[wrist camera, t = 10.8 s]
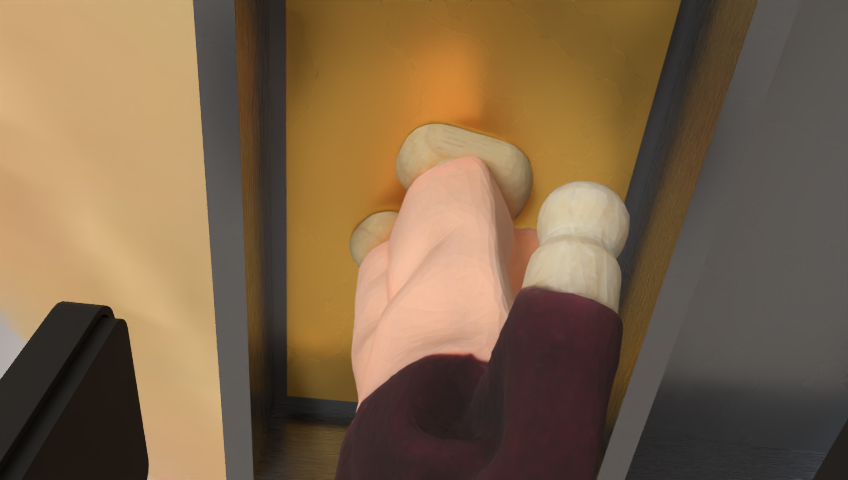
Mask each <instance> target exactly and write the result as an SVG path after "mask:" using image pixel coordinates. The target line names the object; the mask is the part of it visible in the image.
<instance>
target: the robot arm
mask: <svg viewBox="0 0 848 480" xmlns="http://www.w3.org/2000/svg"><path fill="white" fill-rule="evenodd" d="M148 468H149V462H148V454H147V448H146V442H145V435H144V429H143V422H142V416H141V410H140V403H139V397H138V390H137V384H136V378H135V371H134V365H133V358H132V352H131V346H130V339H129V333H128V327H127V323H126V322H125V320H123V319H116V318H115V317H114V314H113V311H112V309H111V308H110V307H108V306H104V305H94V304H84V303H74V302H64V301H62V302H60V303H57V304H56V306H55V307H54V308H53V309H52V310H51V311H50V313H49V314H48V315H47V317H46V318H45V319H44V321H43V322H42V324H41V325H40V326H39V328H38V329H37V330H36V332H35V333H34V334H33V336H32V337H31V339H30V340H29V341H28V343H27V344H26V345H25V347H24V348H23V349H22V351H21V352H20V354H19V355H18V356H17V358H16V359H15V360H14V362H13V363H12V364H11V366H10V367H9V369H8V370H7V371H6V373H5V374H4V375H3V377H2V378H1V379H0V480H147V476H148ZM812 480H848V419H847V421H846V423H845V424H844V426H843V428H842V430H841V431H840V433H839V435H838V436H837V438H836V440H835V442H834V443H833V445H832V447H831V448H830V450H829V452H828V454H827V455H826V457H825V459H824V461H823V462H822V464H821V466H820V467H819V469H818V471H817V473H816V474H815V476H814V478H813V479H812Z"/></svg>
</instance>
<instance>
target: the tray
mask: <svg viewBox="0 0 848 480" xmlns="http://www.w3.org/2000/svg"><path fill="white" fill-rule="evenodd" d="M193 6H194V21H195V35H196V49H197V63H198V78H199V92H200V106H201V121H202V135H203V149H204V164H205V178H206V192H207V207H208V221H209V235H210V249H211V264H212V278H213V292H214V307H215V321H216V335H217V350H218V364H219V378H220V393H221V407H222V421H223V435H224V450H225V464H226V478H227V480H334V479H335V475H336V470H337V465H338V459H339V453H340V448H341V445H342V442H343V439H344V436H345V434H346V432H347V429H348V427H349V426H350V424H351V423H352V421H353V420H354V418H355V414H356V410H357V406H358V402H359V400H358V393H357V387H356V381H355V377H354V373H353V368H352V357H351V353H352V340H353V330H354V319H355V296H356V288H357V279H358V271H359V266H358V265H357V264H356V263H355V261H354V260H353V258H352V256H351V253H350V249H349V245H350V238H351V236H352V234H353V232H354V231H355V230H356V228H357V227H358V226H359V225H360V224H361V223H362V222H363V221H364V220H366V219H367V218H368V217H370V216H371V215H373V214H376V213H380V212H388V211H391V212H396V213H399V212H400V209H401V206H402V203H403V201H404V198H405V196H406V193H407V190H406V189H405V188H404V187H403V186H402V184H401V183H400V181H399V180H398V177H397V174H396V168H395V167H396V159H397V157H398V154H399V152H400V149H401V147H402V145H403V143H404V142H405V140H406V138H407V137H408V136H409V135H410V134H411V133H412V132H413V131H414V130H415V129H417V128H419V127H422V126H424V125H428V124H445V125H449V126H452V127H458V128H461V129H464V130H467V131H470V132H473V133H477V134H481V135H485V136H489V137H492V138H495V139H499V140H502V141H505V142H507V143H510V144H512V145H514V146H515V147H517V148H519V149H520V150H521V151H522V152H523V153H524V155H525V156H526V157H527V158H528V160H529V162H530V164H531V167H532V171H533V187H532V191H531V194H530V196H529V199H528V201H527V203H526V206H525V207H524V209H523V210H522V212H521V213H520V214H519V215H518V217H517V218H516V219H515V220H514V221H513V227H514V228H517V229H522V228H532V229H536V230H537V222H538V216H539V211H540V209H541V207H542V205H543V203H544V201H545V200H546V199H547V197H548V196H549V194H551V193H552V192H553V191H554V190H555V189H557V188H559V187H561V186H563V185H565V184H567V183H569V182H573V181H592V182H596V183H599V184H603V185H606V186H608V187H609V188H610V189H611V190H612V191H614V192H615V193H616V194H617V195H619V197H620V198H621V200H622V202H623V203H624V205H625V207H626V209H627V211H628V213H629V215H630V221H629V234H628V237H627V240H626V243H625V245H624V248H623V250H622V252H621V253H620V255H619V256H618V257H617V259H616V260H617V262H618V264H619V266H620V270H621V290H620V298H619V306H618V314H619V315H620V317H621V320H622V323H623V337H622V344H621V352H620V359H619V365H618V369H617V372H616V375H615V377H614V382H613V386H612V390H611V394H610V398H609V403H608V407H607V414H606V422H605V428H604V432H603V437H602V441H601V446H600V452H599V457H598V462H597V468H596V472H595V476H594V480H812V479H813V478H814V476H815V474H816V473H817V471H818V469H819V467H820V466H821V464H822V462H823V461H824V459H825V457H826V455H827V454H828V452H829V450H830V448H831V447H832V445H833V443H834V442H835V440H836V438H837V436H838V435H839V433H840V431H841V430H842V428H843V426H844V424H845V423H846V421H847V419H848V0H193Z"/></svg>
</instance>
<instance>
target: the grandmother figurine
mask: <svg viewBox="0 0 848 480" xmlns="http://www.w3.org/2000/svg"><path fill="white" fill-rule="evenodd" d="M395 168H396V174H397V177H398V180H399V181H400V183H401V184H402V186H403V187H404V188H405V189H406V190H407V193H406V196H405V198H404V201H403V203H402V206H401V209H400V212H399V213H396V212H391V211H388V212H380V213H376V214H373V215H371V216H370V217H368V218H367V219H366V220H364V221H363V222H362V223H361V224H360V225H359V226H358V227H357V228H356V230H355V231H354V232H353V234H352V236H351V238H350V245H349V249H350V253H351V256H352V258H353V260H354V261H355V263H356V264H357V265H358V266H359V271H358V279H357V288H356V296H355V319H354V330H353V340H352V353H351V357H352V368H353V373H354V377H355V381H356V387H357V393H358V400H359V402H358V406H357V410H356V414H355V418H354V420H353V421H352V423H351V424H350V426H349V427H348V429H347V432H346V434H345V436H344V439H343V442H342V445H341V448H340V453H339V459H338V465H337V470H336V475H335V479H334V480H594V476H595V472H596V468H597V462H598V457H599V452H600V446H601V441H602V437H603V432H604V428H605V422H606V414H607V407H608V403H609V398H610V394H611V390H612V386H613V382H614V377H615V375H616V372H617V369H618V365H619V359H620V352H621V344H622V337H623V323H622V320H621V317H620V315H619V314H618V306H619V298H620V290H621V270H620V266H619V264H618V262H617V260H616V259H617V257H618V256H619V255H620V253H621V252H622V250H623V248H624V245H625V243H626V240H627V237H628V234H629V221H630V215H629V213H628V211H627V209H626V207H625V205H624V203H623V202H622V200H621V198H620V197H619V195H617V194H616V193H615V192H614V191H612V190H611V189H610V188H609V187H608V186H606V185H603V184H599V183H596V182H592V181H573V182H569V183H567V184H565V185H563V186H561V187H559V188H557V189H555V190H554V191H553V192H552V193H551V194H549V196H548V197H547V199H546V200H545V201H544V203H543V205H542V207H541V209H540V211H539V216H538V222H537V230H536V229H532V228H522V229H517V228H514V227H513V221H514V220H515V219H516V218H517V217H518V215H519V214H520V213H521V212H522V210H523V209H524V207H525V206H526V203H527V201H528V199H529V196H530V194H531V191H532V187H533V171H532V167H531V164H530V162H529V160H528V158H527V157H526V156H525V155H524V153H523V152H522V151H521V150H520V149H519V148H517V147H515V146H514V145H512V144H510V143H507V142H505V141H502V140H499V139H495V138H492V137H489V136H485V135H481V134H477V133H473V132H470V131H467V130H464V129H461V128H458V127H452V126H449V125H445V124H428V125H424V126H422V127H419V128H417V129H415V130H414V131H413V132H412V133H411V134H410V135H409V136H408V137H407V138H406V140H405V142H404V143H403V145H402V147H401V149H400V152H399V154H398V157H397V159H396V167H395Z"/></svg>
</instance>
